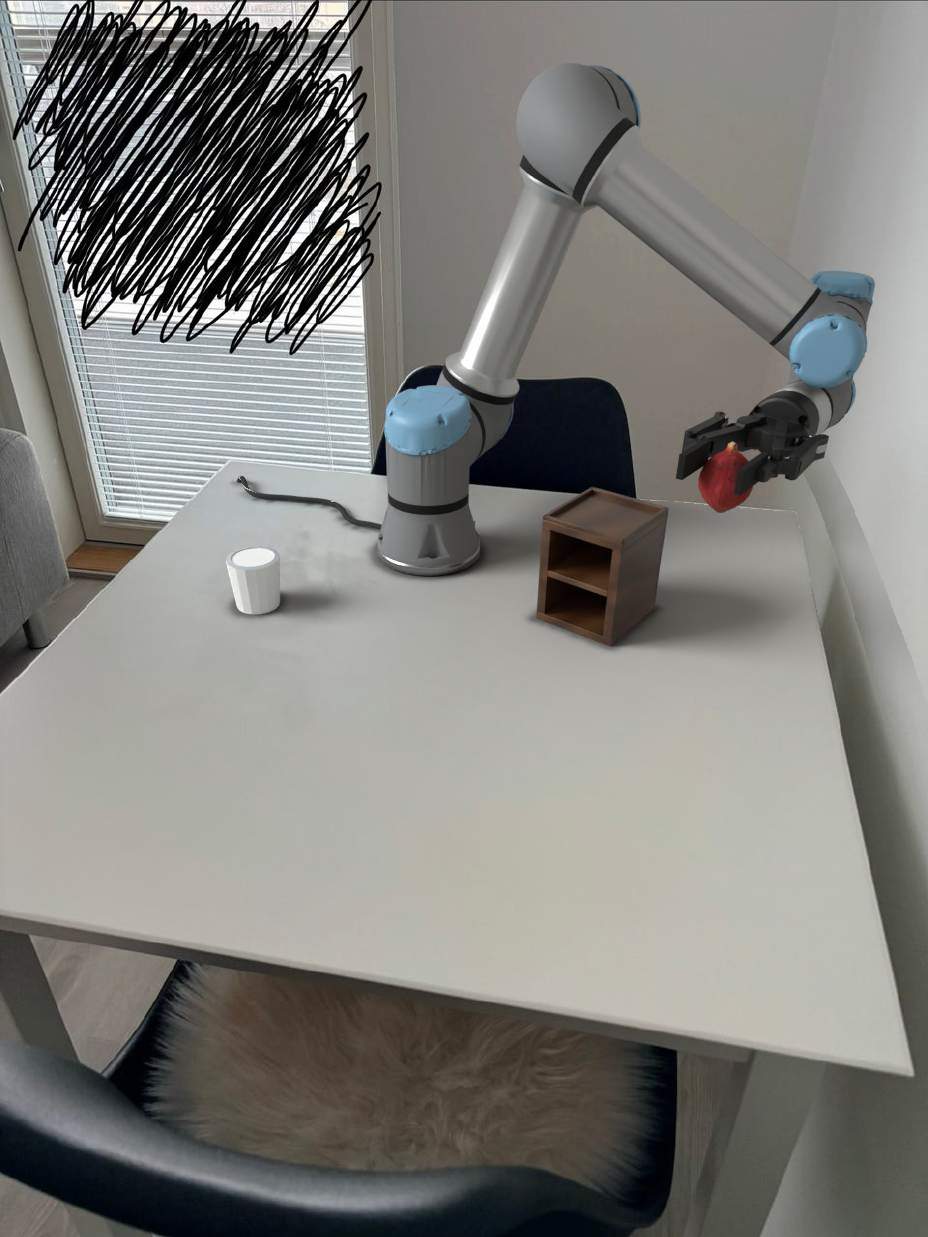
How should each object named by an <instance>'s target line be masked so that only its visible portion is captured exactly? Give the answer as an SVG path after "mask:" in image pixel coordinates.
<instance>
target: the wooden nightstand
mask: <svg viewBox="0 0 928 1237" xmlns="http://www.w3.org/2000/svg"><path fill="white" fill-rule="evenodd" d="M669 509H670V507H667V506H663V505H660V504H656V503H653V502H648V501H646V500H642V499H638V498H635V497H631V496H627V495H624V494H620V493H616V492H613V491H609V490H606V489H603V488H598V487H595V486H591V487H589V488H588V489H586V490H584V491H583V492H581V493H579V494H577V495H576V496H574V497H572V498H571V499H569V500H567V501H565V502H564V503H562V504H560V505H559V506H557V507H555V508H554V509H552V510H550V511H549V512H547V513H545V514H543V515H542V525H541V540H540V555H539V556H540V558H539V569H538V571H539V572H538V587H537V599H536V600H537V602H536V614H535V615H536V617H535V618H536V619H537V620H540V621H543V622H545V623H548V624H550V625H554V626H556V627H559V628H561V629H564V630H566V631H569V632H571V633H574V634H577V635H579V636H582V637H585V638H588V639H590V640H593V641H595V642H598V643H601V644H603V645H606V646H609V647H612V645H614V644H615V643H616V642H617V641H618V640H619V639H621V638H622V637H623V636H624V635H625V634H627V633H628V632H629V631H630V630H631V629H632V628H633V627H634V626H636V625H637V624H638V623H639V622H641V621H642V620H643V619H644V618H645V617H647V615H649V614H650V613H651V612H652V611H653V610H655V605H656V600H657V599H656V598H657V594H658V593H657V592H658V585H659V579H660V578H659V577H660V571H661V565H662V558H663V551H664V550H663V549H664V544H665V536H666V530H667V523H668V517H669V516H668V515H669V511H670V510H669Z"/></svg>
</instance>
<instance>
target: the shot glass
mask: <svg viewBox="0 0 928 1237" xmlns="http://www.w3.org/2000/svg"><path fill="white" fill-rule="evenodd" d="M280 559H281V554H280V553H279V552H278V550H277V549H274V548H272V547H271V546H270V547H268V546H262V545H254V546H246V547H240V548H238V549H236V550H233V551H232V552H230V553H229V554H227V555H226V558H225V564H226V568H227V572H228V576H229V580H230V584H231V589H232V593H233V597H234V601H235V605H236V608H237V610H238V611H239V612H241V613H243V614H247V615H252V616H253V615H263V614H268V613H270V612H273V611H274V610H276V609H277V608H278V607H279V606H280V603H281V560H280Z"/></svg>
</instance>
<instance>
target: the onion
mask: <svg viewBox="0 0 928 1237" xmlns="http://www.w3.org/2000/svg"><path fill="white" fill-rule="evenodd" d="M737 447H738V445H737V444H736V443H735V442H731V443H729V444H728V446H727V448H726V449H725V450H724V451H722V452H720V453H718V454H716V455H714V456H713V457H710V458H709V459H708V461H707V462H706V463H705V465H704V466H703V467H701V470H700V472H699V475H698V478H697V486H698V491H699V493H700V495H701V498H702V499H703V500H704V502H705V504H707V505H708V506H709V507H710V508H711V509H712V510H713V511H715V512H716V513H718V514H723V513H726V512H728V511H730V510H733V509H736V508H737V507H739V506H740V505H741V504H743V503H744V502H745V501H747V499H749V497H750V495H751V494H752V491H753V488H754V486H753V487H751V488H750V489H749V490H747V491H746V492H745V493H744V494H742V495H741V496H740V495H736V494H734V489H735V484H736V479H737V474H738V469H739V468H740V467H742V466H743V465H745V464H746V463H747V462H749V461H750V460H748V459H747V457H745V456H744V454H742V452H739V451H738V450H737Z"/></svg>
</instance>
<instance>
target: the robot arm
mask: <svg viewBox="0 0 928 1237" xmlns="http://www.w3.org/2000/svg"><path fill="white" fill-rule="evenodd" d="M637 97H638V96H637V95H636V93H635V91H634V89H633V87H632V86H631V85H630V83H629V82H628V81H627V80H626V79H625V78H624V77H623V76H622V75H620V74H618V73H617V72H615V71H613V69H611V68H610V67H609V68H608V67H605V66H603V65H600V64H581V63H574V62H564V63H559V64H555V65H553V66H550V67H548V68H547V69H545V70H543V71H542V72H540V73H539V74H538V75H536V77H535V78H534V79H532V81H531V82H530V83H529V85H528V86H527V88H526V89H525V91H524V93H523V94H522V96H521V99H520V102H519V104H518V109H517V113H516V123H515V124H516V136H517V140H518V144H519V148H520V149H521V151H522V156H521V159H520V162H519V165H518V170H519V173H520V176H521V179H522V181H523V187H522V190H521V193H520V196H519V198H518V201H517V203H516V206H515V209H514V211H513V214H512V216H511V219H510V221H509V224H508V226H507V229H506V232H505V234H504V237H503V240H502V243H501V245H500V247H499V250H498V252H497V255H496V257H495V260H494V263H493V265H492V268H491V270H490V274H489V276H488V279H487V281H486V284H485V286H484V288H483V292H482V294H481V297H480V299H479V302H478V304H477V307H476V310H475V312H474V315H473V317H472V319H471V323H470V326H469V328H468V331H467V333H466V336H465V338H464V341H463V343H462V346H461V349H460V350H459V351H457V352H454V353H451V354H449V355H447V357H446V359H445V362H444V364H443V366H442V370H441V372H440V374H439V377H438V380H437V383H436V385H434V384H433V385H429V384H428V385H421V386H417V387H416V388H408V389H405V390H403V391H401V392H399V393H397V394H396V395H395V396H393V398H391V400H389V402H388V404H387V407H386V409H385V423H384V426H383V427H384V429H383V430H384V431H383V432H384V438H385V458H386V459H385V460H386V484H387V507H386V510H385V512H384V513H385V514H384V517H383V519H382V523H377V522H373V521H367V520H361V519H357V518H353V517H352V516H350V515H349V514H348V512H347V510H346V509H345V507H344V506H343V505H342V504H340V503H339V502H337V501H334V502H331V501H332V500H331V499H328V498H327V499H326V498H322V497H311V496H301V495H300V496H299V495H289V494H275V493H274V494H273V493H263V492H258V491H255V492H256V493H255V492H252V491H249V490H247V489H245V488H244V487H243V489H244V490H245V492H246V493H247V494H249V496H251V497H255V498H258V499H264V500H265V499H266V500H277V501H278V500H279V501H289V502H300V503H313V504H322V505H327V506H331V507H333V508H336V509H337V510H338V511H339V513H340V515H341V516H342V518H344V520H346V521H347V522H348V523H350V524H352V525H355V526H360V527H368V528H372V529H375V530H378V531H379V533H378V536H377V541H376V553H377V554H376V555H377V557H378V559H379V561H380V562H381V563H382V564H384V565H385V566H386V567H388V568H389V569H392V570H394V571H397V572H399V573H404V574H408V575H414V576H442V575H448V574H453V573H457V572H461V571H463V570H465V569H468V568H469V567H470V566H473V564H474V563H476V562H477V561H478V559H479V557H480V555H481V540H480V535H479V533H478V531H477V530H476V520H474V518H473V514H472V511H471V509H470V504H469V503H470V502H469V501H470V497H469V496H470V468H471V466H472V465H473V464H474V463H475V462H476V461H477V460H478V459H479V458H480V457H482V456H483V455H484V454H485V453H486V452H487V451H488V450H490V449H491V448H493V447H495V446H496V445H497V444H498V443H499V442H500V440H502V439H504V438H503V437H505V435H506V433H507V431H508V429H509V428H510V426H511V423H512V421H513V416H514V403H515V401H516V398H517V395H518V393H519V391H520V384H519V381H518V379H517V376H516V373H517V370H518V368H519V366H520V363H521V360H522V358H523V356H524V354H525V352H526V349H527V347H528V344H529V342H530V339H532V338H531V337H532V336H533V335H532V334H533V333H534V331H535V328H536V326H537V323H538V321H539V319H540V318H541V315H542V312H543V310H544V307H545V305H546V303H547V301H548V298H549V296H550V294H551V291H552V289H553V288H554V287H553V286H554V284H555V282H556V280H557V278H558V275H559V273H560V271H561V268H562V267H563V264H564V262H565V258H566V257H567V254H568V252H569V250H570V248H571V245H572V243H573V241H574V238H575V236H576V233H577V231H578V229H579V227H580V224H581V222H582V220H583V219H584V218H583V217H584V215H585V213H587V212H588V211H590V210H593V209H595V208H597V207H598V208H600V209H601V210H603V212H605V213H606V214H608V216H610V217H611V218H612V219H614V221H616V222H618V223H619V224H620V225H621V226H622V227H624V228H625V229H626V230H628V232H630V233H631V234H632V235H633V236H635V237H636V238H637V239H639V240H640V241H641V242H642V243H643V244H645V245H646V246H647V247H648V248H650V249H651V250H652V251H654V252H655V253H656V254H657V255H658V256H660V257H661V258H662V259H664V260H665V261H666V262H667V263H668V264H670V265H671V266H672V267H674V268H675V269H676V270H677V271H678V272H680V273H681V274H682V275H684V276H685V277H686V278H687V279H689V281H691V282H692V283H694V284H695V285H696V286H697V287H698V288H699V289H701V290H702V291H703V292H705V293H706V294H707V295H708V296H710V297H711V298H712V299H713V300H714V301H716V303H718V304H719V305H720V306H722V307H723V308H724V309H726V310H727V311H728V312H729V313H730V314H732V316H734V317H735V318H737V319H738V320H739V321H741V322H742V323H743V324H744V325H745V326H747V327H748V328H749V329H750V330H751V331H753V332H754V333H755V334H756V335H758V336H759V337H760V338H761V339H763V340H764V341H766V342H767V343H768V344H769V345H770V346H771V347H772V348H774V350H775V351H777V352H778V353H779V354H781V356H783V357H784V358H786V359H787V360H788V361H789V365H790V371H789V376H788V381H787V384H786V385H784V386H783V387H781V388H779V389H778V390H776V391H774V392H773V393H772V394H770V395H768V396H767V397H764V398H763V399H761V400H760V401H759V402H757V404H755V406H754V407H753V408H752V410H750V412H749V413H748V415H742V416H740V417H738V418H737V419H730V417H729V415H726V413H725V412H724V411H721V410H719V411H715V412H714V414H713V416H712V417H710V418H708V419H706V420H704V421H702V422H700V423H698V424H696V425H694V426H692V427H690V428H687V429H686V430H685V431H684V435H683V441H682V448H681V452H680V453H679V454H678V461H677V465H676V466H677V467H676V468H677V469H676V473H675V479H676V480H679V481H683V480H685V479H687V478H688V477H689V476H691V475H693V474H694V473H695V472H697V471H698V470H700V469H702V468H703V466H704V465H705V463H706V462H707V461H708V460H709V459H710V458H711V457H713V456H714V455H716V454H718V453H720V452H722V451H724V450H725V449H726V448H727V446H728V444H729V443H731V442H735V443H736V444H737V445H738V447H737V450H738V452H739V453H743V452H747V451H751V450H754V451H759V453H758V454H757V455H756V456H754V457H753V458H752V459H750V460H748V461H749V462H747V463H746V464H745V465H743V466H742V467H740V468H739V469H738V474H737V479H736V484H735V489H734V494H736V495H740V496H741V495H742V494H744V493H745V492H746V491H747V490H749V489H750V488H751V487H753V488H754V486H755V485H757V484H758V483H763V484H764V483H767V482H769V481H770V480H772V479H774V478H775V479H776V478H778V477H779V475H783V476H784V479H785V480H787V481H796V480H798V478H799V477H800V476H801V475H802V474H803V473H804V472H805V471H806V470H808V468H809V467H810V466H811V465H812V464H813V463H814V462H815V461H818V460H822V459H825V456H826V455H825V454H826V451H827V447H828V443H829V439H830V436H829V435H827V434H825V431H827V430H828V429H829V428H833V427H834V426H836V425H837V424H839V423H840V422H841V421H842V420H843V419H845V416H846V415H847V414H848V413H849V411H850V410H851V409H852V407H853V405H854V403H855V400H856V395H857V388H856V384H855V380H854V375H855V374H856V373H857V371H858V370H859V368H860V366H861V364H862V362H863V360H864V358H865V357H866V356H865V355H866V353H867V350H868V336H867V327H868V325H867V324H868V319H869V315H870V312H871V308H872V306H873V304H874V301H873V297H874V293H875V287H876V282H875V279H874V278H873V277H872V276H871V275H868V274H865V273H860V272H856V271H849V270H848V271H847V270H821V271H818V272H816V273H814V274H813V275H812V277H811V278H810V279H809V278H808V277H807V276H806V275H804V274H803V273H802V272H801V271H799V270H798V269H797V268H796V267H794V266H793V265H792V264H791V263H789V262H788V261H787V260H786V259H784V258H783V257H782V256H781V255H780V254H778V253H777V252H776V251H774V250H773V249H772V248H771V247H770V246H769V245H767V244H766V243H765V242H764V241H762V240H761V239H760V238H759V237H758V236H756V235H755V234H754V233H753V232H751V231H750V230H749V229H747V227H745V226H744V225H743V224H742V223H740V222H739V221H738V220H737V219H735V218H734V217H733V216H732V215H730V213H728V212H727V211H726V210H724V209H723V208H722V207H720V206H719V205H718V204H717V203H715V201H713V200H712V199H711V198H710V197H708V196H707V195H706V194H704V193H703V192H702V191H701V190H700V189H699V188H697V187H696V186H695V185H693V184H692V183H691V182H690V181H688V180H687V179H686V178H685V177H684V176H683V175H682V174H680V173H679V172H678V171H676V170H675V169H674V168H673V167H671V166H670V165H669V164H667V162H665V161H664V160H663V159H661V158H660V157H659V156H657V154H655V153H654V152H653V151H652V150H650V149H649V147H647V146H645V145H644V143H642V141H641V140H642V139H641V132H640V131H641V123H642V122H641V120H642V119H641V118H642V116H641V108H640V103H639V99H638V98H637ZM239 477H240V479H241V480H240V479H239ZM236 483H241V485H242V484H243V485H244V486H245V487H246V488H248V489H249V488H250V486H249V484H248V482H247V479H246V477H245V476H243V475H240V476H238V478H237V479H236ZM243 485H242V486H243ZM248 486H249V487H248ZM257 492H258V493H257Z"/></svg>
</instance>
